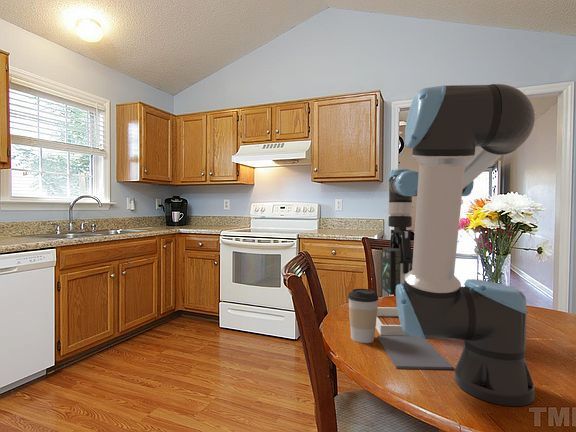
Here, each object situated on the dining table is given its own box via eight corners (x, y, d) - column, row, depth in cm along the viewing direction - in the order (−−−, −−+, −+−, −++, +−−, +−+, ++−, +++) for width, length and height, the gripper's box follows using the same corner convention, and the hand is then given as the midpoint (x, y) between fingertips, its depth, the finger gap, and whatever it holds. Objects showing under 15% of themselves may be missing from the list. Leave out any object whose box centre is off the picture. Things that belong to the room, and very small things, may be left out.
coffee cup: (354, 331, 109) (355, 285, 109) (382, 337, 104) (382, 289, 104) (342, 339, 102) (343, 290, 102) (371, 347, 97) (371, 295, 96)
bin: (435, 336, 105) (435, 326, 105) (380, 335, 106) (380, 325, 106) (413, 315, 125) (413, 307, 125) (367, 315, 126) (367, 307, 126)
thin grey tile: (453, 369, 84) (453, 367, 84) (396, 368, 84) (396, 365, 84) (423, 338, 104) (423, 336, 104) (377, 337, 104) (377, 335, 104)
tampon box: (418, 296, 109) (419, 250, 109) (389, 295, 110) (390, 250, 109) (407, 288, 120) (407, 247, 120) (381, 288, 121) (381, 247, 120)
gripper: (424, 215, 103) (423, 287, 103) (400, 215, 126) (399, 273, 127) (399, 215, 103) (398, 287, 103) (380, 215, 127) (379, 273, 127)
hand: (399, 279), depth 115 cm, fingers closed on tampon box, 11 cm apart
